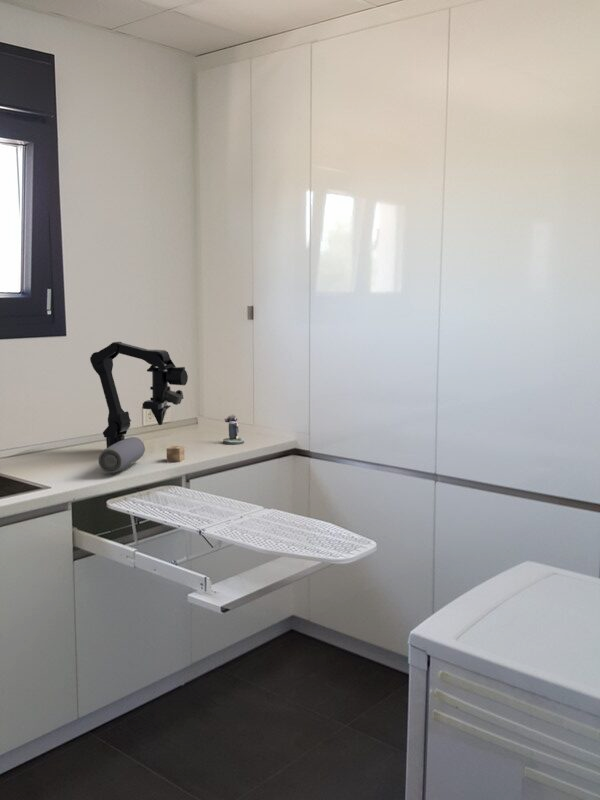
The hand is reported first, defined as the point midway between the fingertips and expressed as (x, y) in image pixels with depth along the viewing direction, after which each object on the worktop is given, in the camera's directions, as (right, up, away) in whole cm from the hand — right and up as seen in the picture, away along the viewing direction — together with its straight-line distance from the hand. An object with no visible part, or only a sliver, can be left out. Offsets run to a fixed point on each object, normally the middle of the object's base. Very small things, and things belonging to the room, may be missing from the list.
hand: (160, 424), depth 303 cm
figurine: (+26, -8, +23) cm, 36 cm away
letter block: (+7, -13, -9) cm, 17 cm away
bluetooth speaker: (-9, -15, -23) cm, 29 cm away
